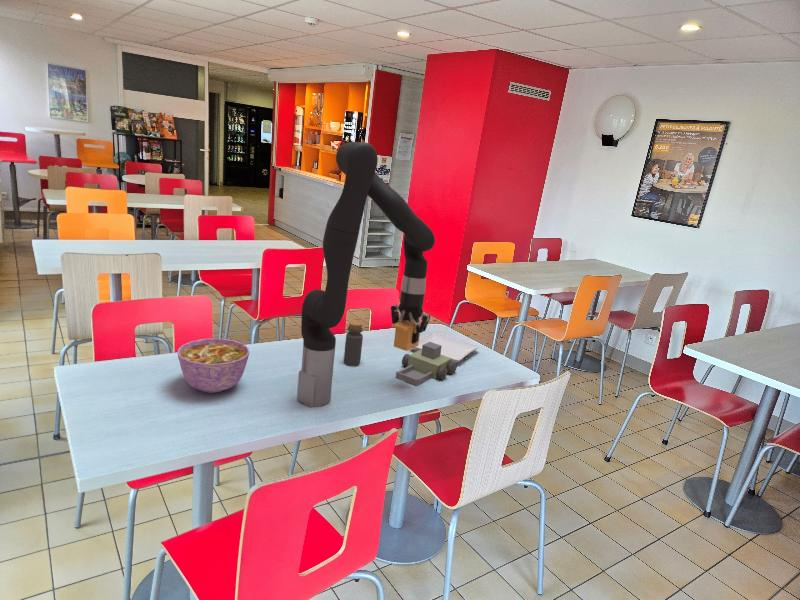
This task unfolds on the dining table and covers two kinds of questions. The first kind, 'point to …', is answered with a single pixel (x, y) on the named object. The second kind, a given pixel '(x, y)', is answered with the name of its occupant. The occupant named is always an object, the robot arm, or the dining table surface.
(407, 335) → the orange box
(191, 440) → the dining table surface
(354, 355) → the bottle
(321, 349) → the robot arm
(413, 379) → the green boxy vehicle
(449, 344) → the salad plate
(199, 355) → the bowl of food
